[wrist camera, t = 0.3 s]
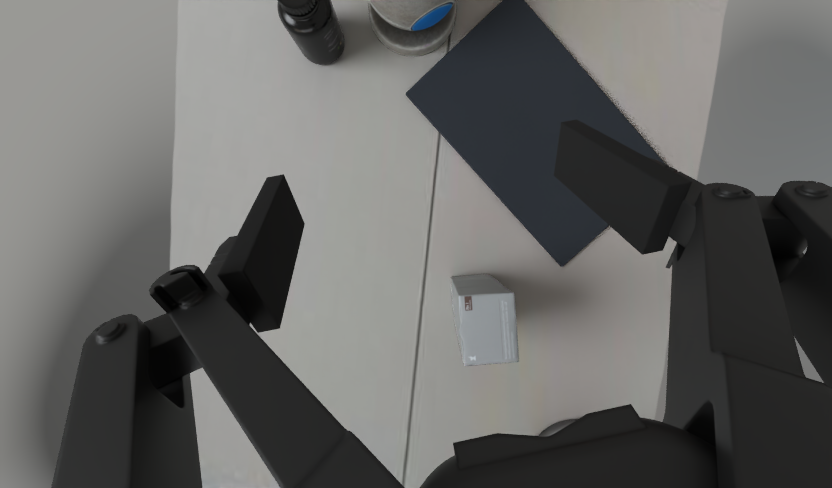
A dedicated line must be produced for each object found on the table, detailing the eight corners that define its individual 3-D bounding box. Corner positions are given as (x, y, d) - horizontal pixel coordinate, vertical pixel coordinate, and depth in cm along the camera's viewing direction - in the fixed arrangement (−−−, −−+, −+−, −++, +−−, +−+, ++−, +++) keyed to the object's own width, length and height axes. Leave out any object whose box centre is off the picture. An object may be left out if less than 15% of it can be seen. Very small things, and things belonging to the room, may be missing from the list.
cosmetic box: (493, 322, 52) (527, 366, 36) (449, 325, 52) (463, 371, 36) (490, 270, 51) (522, 292, 35) (445, 273, 51) (457, 297, 35)
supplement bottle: (294, 58, 49) (255, 5, 37) (308, 13, 49) (273, -55, 37) (337, 73, 49) (312, 25, 37) (352, 29, 49) (330, -34, 37)
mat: (667, 170, 50) (670, 170, 49) (560, 266, 51) (562, 267, 51) (513, -9, 48) (514, -11, 48) (405, 94, 49) (405, 93, 49)
